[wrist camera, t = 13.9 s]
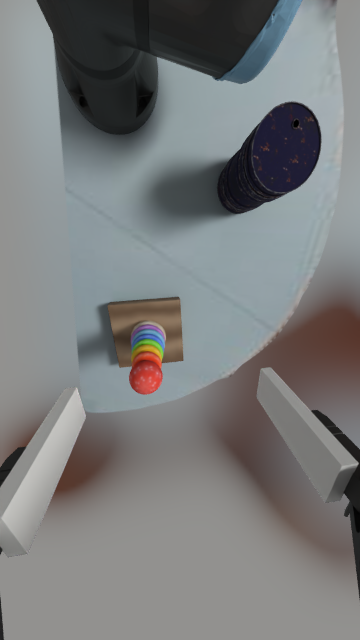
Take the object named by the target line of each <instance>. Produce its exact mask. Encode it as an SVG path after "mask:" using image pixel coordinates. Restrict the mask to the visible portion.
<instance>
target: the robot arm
mask: <svg viewBox="0 0 360 640" xmlns="http://www.w3.org/2000/svg"><path fill="white" fill-rule="evenodd" d="M37 2H38V4H39V6H40V9H41V11H42V12H43V14H44V17H45V19H46V21H47V23H48V25H49V27H50V29H51V31H52V33H53V38H54V43H55V49H56V55H57V60H58V65H59V69H60V72H61V75H62V78H63V81H64V83H65V86H66V88H67V90H68V92H69V94H70V96H71V97H72V99H73V101H74V103H75V104H76V106H77V108H78V109H79V110H80V112H81V113H82V114H83V115H84V117H85V118H86V119H87V120H88V121H89V122H91V123H92V124H93V125H94V126H96V127H97V128H99V129H101V130H103V131H105V132H108V133H112V134H127V133H131V132H133V131H135V130H137V129H138V128H140V127H141V126H142V125H143V124H144V123H145V122H146V121H147V119H148V118H149V116H150V115H151V113H152V111H153V108H154V105H155V102H156V98H157V92H158V64H157V57H159V58H162V59H165V60H168V61H171V62H173V63H176V64H179V65H182V66H185V67H188V68H190V69H193V70H196V71H199V72H202V73H204V74H207V75H210V76H212V77H213V78H214V79H215V80H217V81H219V80H220V81H223V80H227V81H231V82H235V83H238V84H243V83H247V82H249V81H251V80H253V79H254V78H255V77H256V76H257V75H258V74H259V73H260V72H261V71H262V70H263V69H264V67H265V66H266V65H267V63H268V62H269V61H270V59H271V58H272V56H273V54H274V53H275V51H276V50H277V48H278V46H279V45H280V43H281V41H282V39H283V38H284V36H285V34H286V32H287V30H288V28H289V26H290V25H291V23H292V21H293V19H294V17H295V15H296V13H297V11H298V8H299V6H300V4H301V2H302V0H37ZM257 399H258V400H259V402H260V403H261V404H262V406H263V408H264V409H265V411H266V413H267V414H268V416H269V417H270V419H271V420H272V422H273V423H274V425H275V426H276V428H277V430H278V431H279V433H280V434H281V436H282V437H283V439H284V440H285V442H286V443H287V445H288V447H289V448H290V450H291V451H292V453H293V454H294V456H295V457H296V459H297V460H298V462H299V464H300V465H301V467H302V468H303V470H304V471H305V473H306V474H307V476H308V478H309V479H310V481H311V482H312V484H313V485H314V487H315V488H316V490H317V491H318V493H319V495H320V496H321V498H322V499H323V501H324V502H325V503H329V502H335V501H340V500H341V498H342V496H343V494H345V495H346V496H347V498H348V499H349V500H350V502H349V504H348V506H347V508H346V510H345V513H344V516H346V517H348V515H349V513H350V520H351V528H352V537H353V546H354V554H355V563H356V572H357V580H358V589H359V598H360V449H359V448H358V447H357V446H356V445H355V444H354V443H353V442H352V441H351V440H350V439H349V438H348V437H347V436H346V435H345V434H343V432H342V431H341V430H340V429H339V428H338V427H336V425H335V424H334V423H333V422H332V421H331V420H330V419H329V418H328V417H327V416H325V415H324V414H322V413H321V412H319V411H318V410H312V411H310V410H309V409H308V408H307V406H306V405H305V404H304V403H303V402H302V401H301V400H300V399H299V398H298V397H297V396H296V395H295V393H294V392H293V391H292V390H291V389H290V388H289V387H288V386H287V385H286V384H285V383H284V381H283V380H282V379H281V378H280V377H279V376H278V375H277V374H276V373H275V372H274V371H273V370H272V369H271V368H261V370H260V377H259V384H258V390H257ZM85 418H86V415H85V412H84V409H83V405H82V402H81V399H80V396H79V393H78V389H77V387H73V388H65V389H64V391H63V392H62V394H61V395H60V397H59V398H58V400H57V401H56V403H55V405H54V406H53V408H52V409H51V411H50V412H49V414H48V415H47V417H46V418H45V420H44V422H43V423H42V424H41V426H40V427H39V429H38V431H37V432H36V434H35V435H34V437H33V438H32V440H31V441H30V443H29V444H28V446H27V447H20V448H17V449H16V450H15V451H14V452H13V453H12V454H11V455H10V456H9V457H8V458H7V459H6V460H5V462H4V463H3V464H2V466H1V467H0V554H1V552H2V551H3V552H4V553H5V554H6V556H7V557H12V556H18V555H24V554H28V552H29V550H30V548H31V545H32V543H33V540H34V538H35V536H36V533H37V531H38V529H39V526H40V524H41V521H42V519H43V517H44V515H45V512H46V510H47V507H48V505H49V503H50V500H51V498H52V496H53V493H54V491H55V489H56V486H57V484H58V482H59V479H60V477H61V474H62V472H63V470H64V467H65V465H66V463H67V460H68V458H69V455H70V453H71V451H72V448H73V446H74V444H75V441H76V439H77V437H78V434H79V432H80V430H81V427H82V425H83V422H84V420H85ZM0 640H4V637H3V623H2V612H1V599H0Z"/></svg>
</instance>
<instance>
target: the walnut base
mask: <svg viewBox="0 0 360 640" xmlns="http://www.w3.org/2000/svg"><path fill="white" fill-rule="evenodd" d="M108 311H109V316H110V321H111V326H112V332H113V337H114V342H115V347H116V352H117V357H118V362H119V367H120V368H121V367H131V366H132V361H131V356H132V350H131V348H132V345H131V333H132V330H133V329H134V327H135V326H136V325H137V324H139V323H140V322H143V321H154V322H156V323H158V324H160V325H161V326H162V327H163V329H164V330H165V333H166V340H165V348H164V353H163V358H162V362H161V363H168V362H177V361H183V344H182V325H181V307H180V298H179V297H170V298H157V299H145V300H132V301H119V302H110V303H109V304H108Z"/></svg>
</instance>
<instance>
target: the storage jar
mask: <svg viewBox="0 0 360 640" xmlns="http://www.w3.org/2000/svg"><path fill="white" fill-rule="evenodd" d="M320 151H321V130H320V126H319V122H318V120H317V118H316V116H315V115H314V113H313V112H312V111H311V110H310V109H309V108H308V107H307V106H305V105H304V104H302V103H299V102H285V103H282V104H280V105H278V106H276V107H275V108H273V109H272V110H271V111H270V112H269V113H268V114H267V115H266V116H265V117H264V118H263V120H262V121H261V122H260V123H259V124H258V125H257V126H256V127H255V129H254V130H253V131H252V132H251V134H250V135H249V136H248V137H247V139H246V140H245V142H244V143H243V145H242V147H241V149H240V150H238V152H237V153H236V154H235V155H234V156H233V157H232V158H231V159H230V160H229V162H228V163H227V165H226V166H225V168H224V169H223V171H222V172H221V174H220V177H219V180H218V187H217V189H218V197H219V200H220V202H221V204H222V205H223V206H224V208H225V209H227V210H228V211H230V212H232V213H236V214H240V213H244V212H247V211H250V210H253V209H255V208H257V207H259V206H260V205H262V204H263V203H265V202H270V201H273V200H275V199H277V198H279V197H282V196H283V195H285V194H287V193H289V192H291V191H293V190H295V189H297V188H298V187H300V186H301V185H302V184H303V183H304V182H305V181H306V180H307V179H308V178H309V177H310V175H311V174H312V172H313V170H314V169H315V166H316V164H317V162H318V159H319V155H320Z"/></svg>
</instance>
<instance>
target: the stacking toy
mask: <svg viewBox="0 0 360 640" xmlns="http://www.w3.org/2000/svg"><path fill="white" fill-rule="evenodd" d="M165 340H166V333H165V330H164V329H163V327H162V326H161V325H160V324H158V323H156V322H154V321H143V322H140V323H139V324H137V325H136V326H135V327H134V329H133V330H132V333H131V345H132V348H131V350H132V356H131V361H132V370H131V372H130V375H129V381H130V385H131V387H132V388H133V389H134V390H135V391H136V392H137V393H140V394H150V393H153V392H154V391H156V390H157V389H158V388H159V386H160V385H161V382H162V371H161V366H162V363H161V362H162V358H163V353H164V348H165Z"/></svg>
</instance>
